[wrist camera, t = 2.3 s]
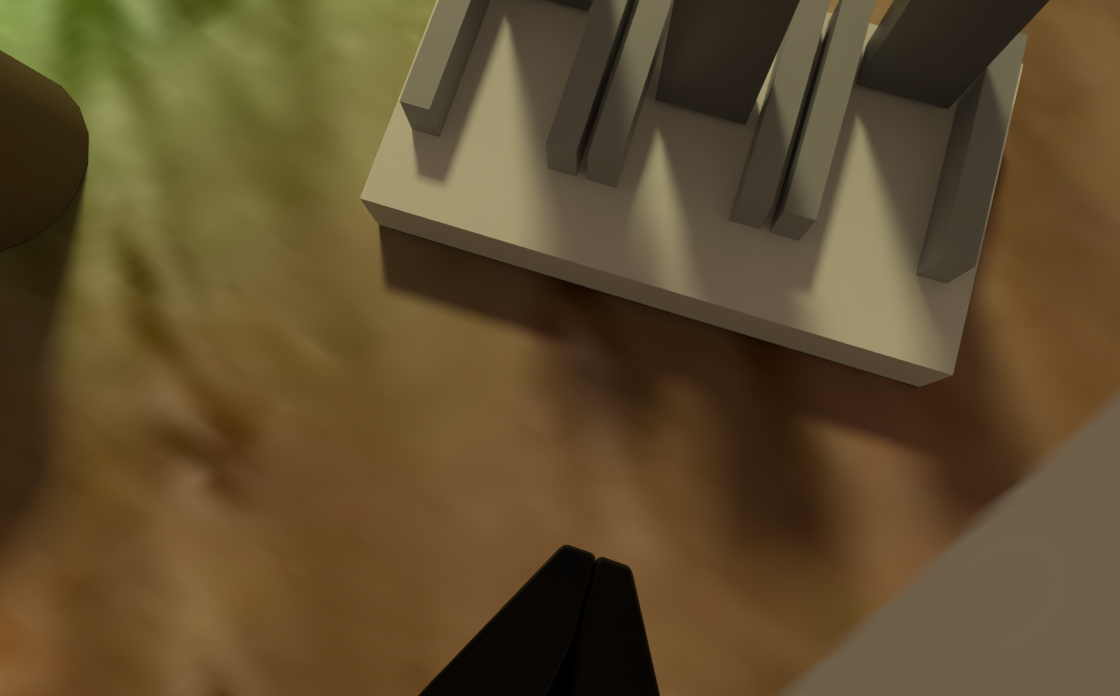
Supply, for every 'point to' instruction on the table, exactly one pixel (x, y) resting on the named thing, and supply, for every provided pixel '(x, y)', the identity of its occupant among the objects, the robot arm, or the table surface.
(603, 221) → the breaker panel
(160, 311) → the table surface
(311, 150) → the table surface
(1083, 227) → the table surface
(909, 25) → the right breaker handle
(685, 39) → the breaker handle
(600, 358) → the table surface
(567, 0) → the handle
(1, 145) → the olive pepper mill
